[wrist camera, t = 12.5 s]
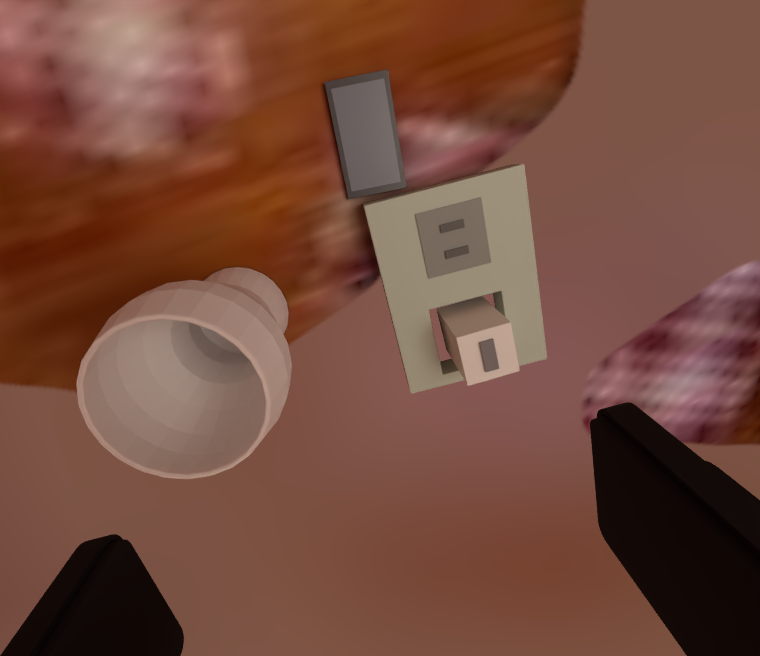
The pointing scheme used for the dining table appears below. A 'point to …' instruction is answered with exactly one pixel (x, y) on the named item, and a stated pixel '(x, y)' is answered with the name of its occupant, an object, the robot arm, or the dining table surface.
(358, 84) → the phone
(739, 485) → the robot arm
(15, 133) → the dining table surface
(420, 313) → the outlet board
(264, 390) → the cup
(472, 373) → the block
